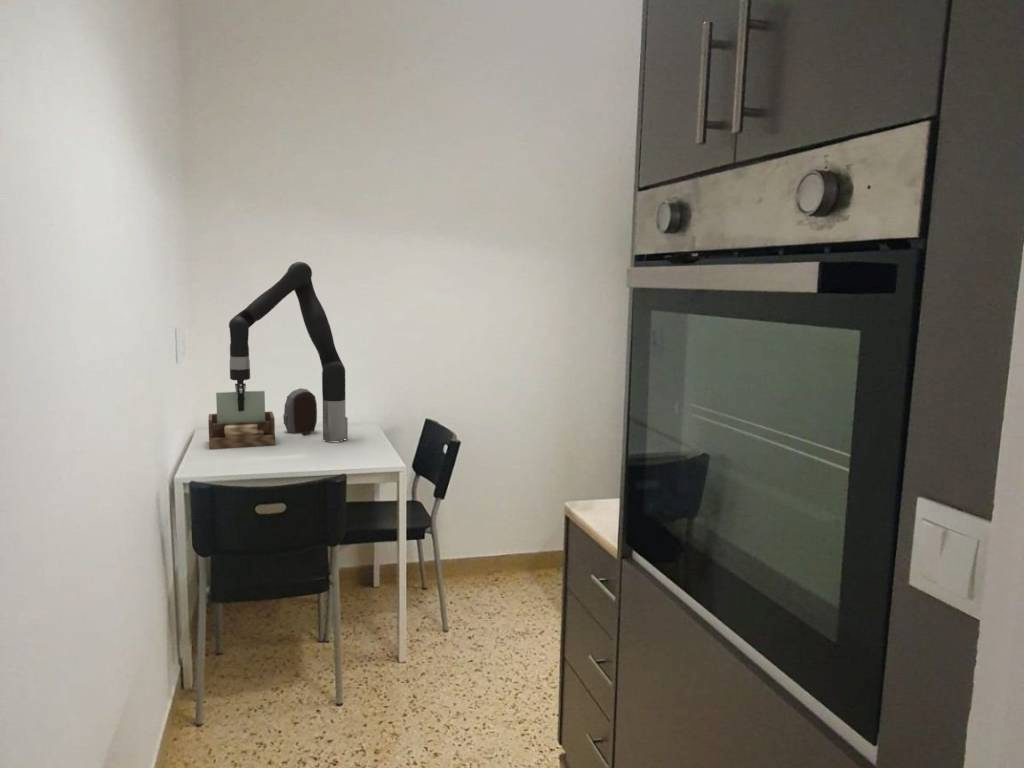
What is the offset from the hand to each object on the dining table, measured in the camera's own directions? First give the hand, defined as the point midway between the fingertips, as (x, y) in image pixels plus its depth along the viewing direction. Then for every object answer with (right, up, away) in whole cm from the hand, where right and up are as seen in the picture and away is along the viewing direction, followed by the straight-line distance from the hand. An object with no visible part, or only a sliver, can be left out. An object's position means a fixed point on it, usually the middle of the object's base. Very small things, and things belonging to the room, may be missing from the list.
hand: (241, 410), depth 290 cm
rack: (+1, -14, -2) cm, 15 cm away
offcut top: (+2, -8, -5) cm, 10 cm away
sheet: (0, -12, +2) cm, 13 cm away
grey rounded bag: (+17, -11, +24) cm, 31 cm away
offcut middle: (+3, -11, -4) cm, 12 cm away
